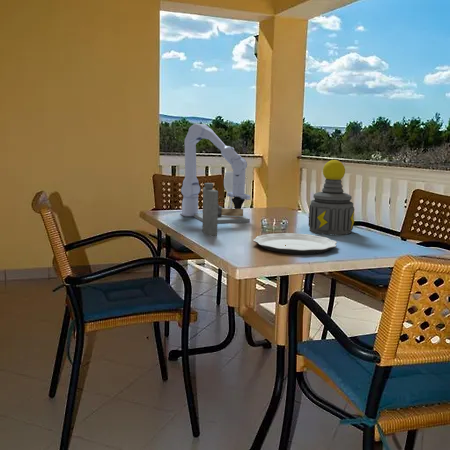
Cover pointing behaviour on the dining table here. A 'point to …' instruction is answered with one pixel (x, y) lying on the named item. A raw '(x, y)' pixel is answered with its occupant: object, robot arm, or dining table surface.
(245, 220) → the grey flat slab
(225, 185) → the wineglass
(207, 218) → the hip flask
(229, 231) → the dining table surface
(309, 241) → the plate
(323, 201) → the decorative lamp
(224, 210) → the curved bar with hub
